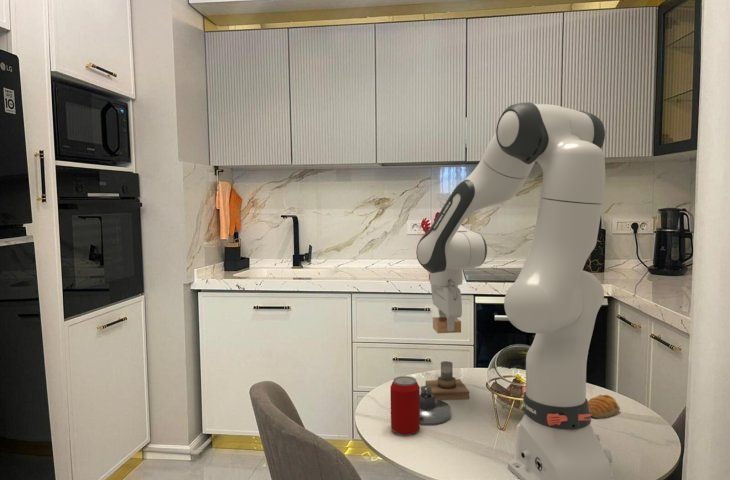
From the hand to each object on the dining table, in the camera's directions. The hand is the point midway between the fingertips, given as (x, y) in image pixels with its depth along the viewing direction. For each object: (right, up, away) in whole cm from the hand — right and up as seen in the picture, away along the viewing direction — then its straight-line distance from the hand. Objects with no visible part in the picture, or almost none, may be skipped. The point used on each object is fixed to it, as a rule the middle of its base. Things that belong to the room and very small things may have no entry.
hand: (446, 327), depth 138 cm
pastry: (+37, -19, -13) cm, 43 cm away
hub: (-7, -20, -13) cm, 25 cm away
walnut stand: (0, -19, +1) cm, 19 cm away
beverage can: (-13, -20, -22) cm, 33 cm away
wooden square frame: (0, -1, 0) cm, 1 cm away
